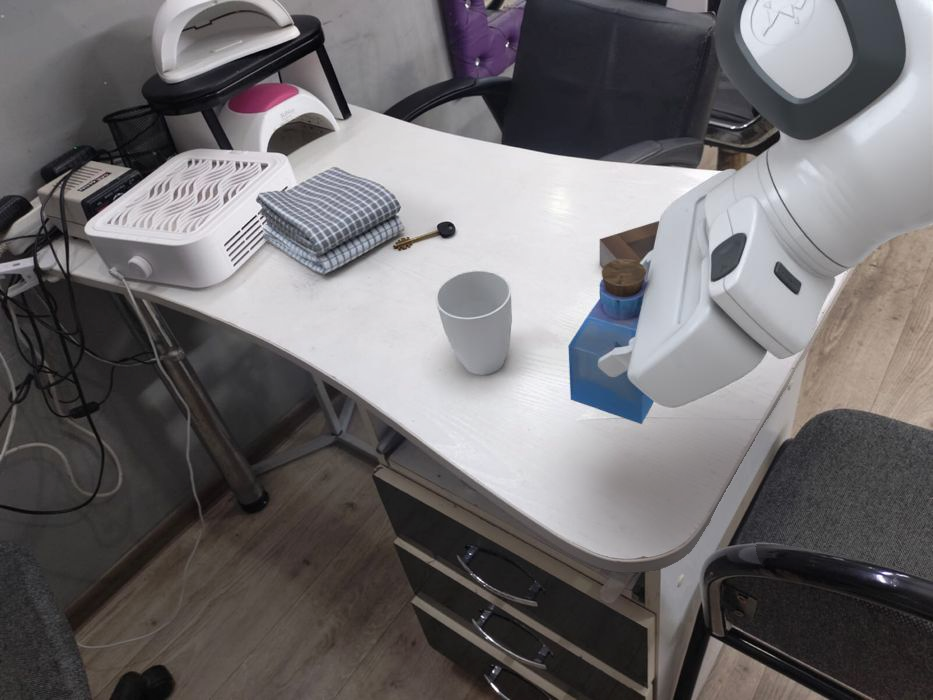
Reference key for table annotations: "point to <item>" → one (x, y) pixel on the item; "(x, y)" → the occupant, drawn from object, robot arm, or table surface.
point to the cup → (477, 318)
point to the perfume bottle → (598, 331)
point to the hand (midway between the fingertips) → (613, 329)
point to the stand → (628, 244)
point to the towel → (330, 219)
